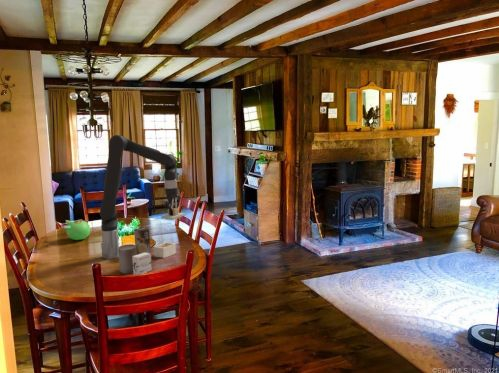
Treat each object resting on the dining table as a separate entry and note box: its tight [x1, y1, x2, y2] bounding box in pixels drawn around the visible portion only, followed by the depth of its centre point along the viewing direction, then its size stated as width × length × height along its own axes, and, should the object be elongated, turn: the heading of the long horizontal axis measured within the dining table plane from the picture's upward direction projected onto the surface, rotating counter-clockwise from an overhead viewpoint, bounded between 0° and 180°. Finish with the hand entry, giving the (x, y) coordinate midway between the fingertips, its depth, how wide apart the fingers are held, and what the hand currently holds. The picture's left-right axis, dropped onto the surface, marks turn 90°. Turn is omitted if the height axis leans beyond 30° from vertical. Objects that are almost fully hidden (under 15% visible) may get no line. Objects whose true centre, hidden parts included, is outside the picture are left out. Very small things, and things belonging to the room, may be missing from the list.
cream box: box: [153, 241, 177, 259], centre depth 246 cm, size 11×8×6 cm
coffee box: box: [133, 227, 152, 255], centre depth 247 cm, size 9×6×16 cm
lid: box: [160, 207, 186, 221], centre depth 243 cm, size 12×9×6 cm
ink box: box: [132, 253, 153, 276], centre depth 210 cm, size 9×5×12 cm, turn 141°
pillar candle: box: [118, 244, 137, 275], centre depth 219 cm, size 10×10×15 cm
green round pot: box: [63, 218, 91, 241], centre depth 285 cm, size 18×17×15 cm
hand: (173, 214), depth 244 cm, fingers closed on lid, 2 cm apart
